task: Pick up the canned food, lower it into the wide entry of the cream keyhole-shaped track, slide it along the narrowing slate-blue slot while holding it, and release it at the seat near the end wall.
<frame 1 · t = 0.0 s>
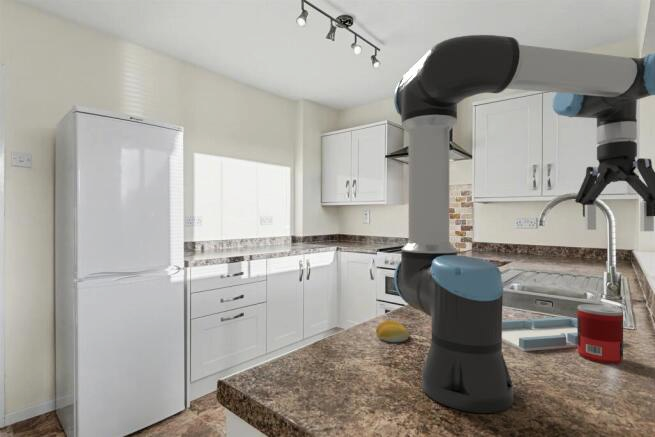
hand: (616, 230, 85), 28 cm above the countertop, tool pointing down, fingers open, 13 cm apart
bread roll: (391, 338, 91), on the countertop
canned food: (599, 358, 77), on the countertop
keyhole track: (548, 336, 91), on the countertop
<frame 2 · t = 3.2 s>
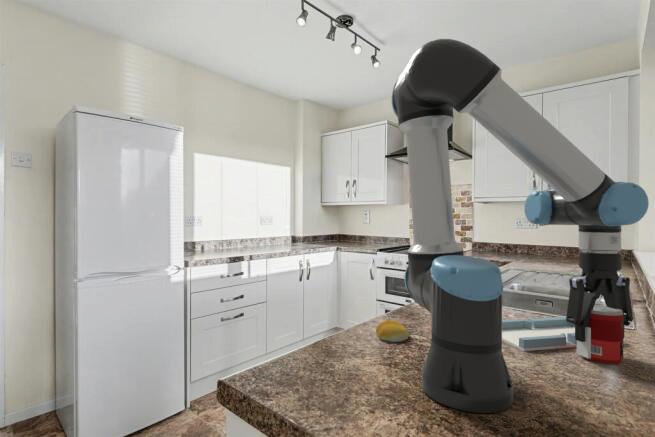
hand: (599, 354, 77), 1 cm above the countertop, tool pointing down, fingers closed on canned food, 8 cm apart
canned food: (599, 358, 77), on the countertop, touching gripper
everything else where it was.
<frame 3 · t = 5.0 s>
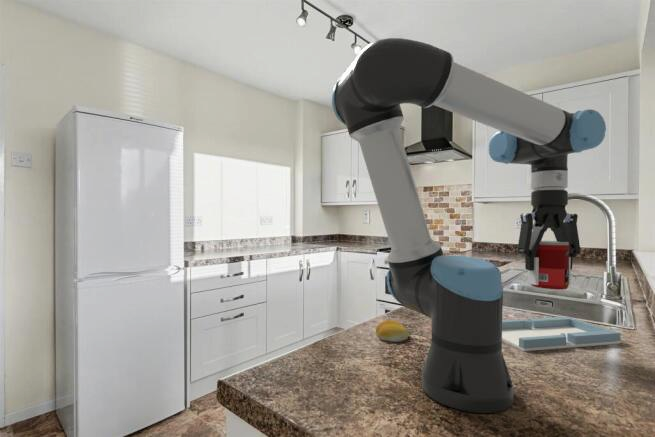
hand: (548, 283, 85), 15 cm above the countertop, tool pointing down, fingers closed on canned food, 8 cm apart
canned food: (549, 287, 85), point 14 cm above the countertop, touching gripper
everything else where it was.
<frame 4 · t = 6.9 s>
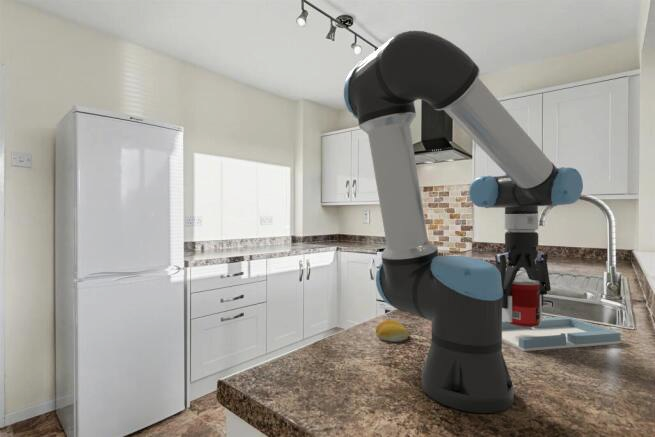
hand: (521, 319, 89), 5 cm above the countertop, tool pointing down, fingers closed on canned food, 8 cm apart
canned food: (521, 323, 90), point 4 cm above the countertop, touching gripper
everything else where it was.
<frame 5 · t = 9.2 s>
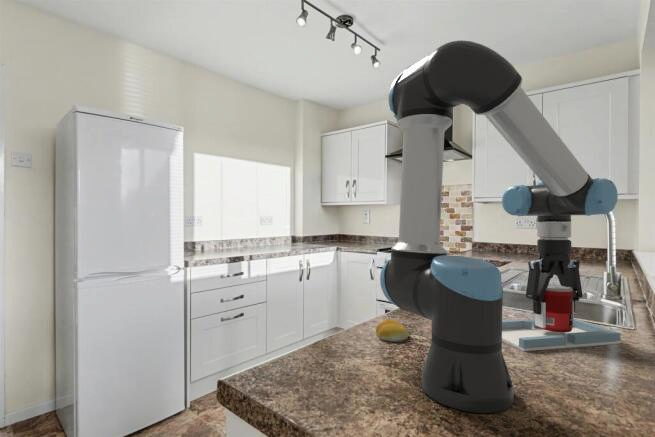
hand: (554, 325, 91), 3 cm above the countertop, tool pointing down, fingers closed on canned food, 8 cm apart
canned food: (554, 329, 91), point 2 cm above the countertop, touching gripper
everything else where it was.
when the fingers open (3 cm above the countertop, at t = 10.9 s): canned food drops 1 cm, resting on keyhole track.
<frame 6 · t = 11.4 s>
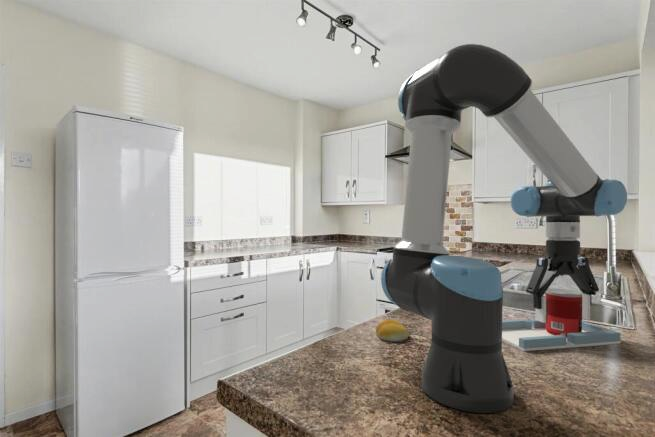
hand: (562, 319, 92), 4 cm above the countertop, tool pointing down, fingers open, 13 cm apart
canned food: (563, 334, 92), resting on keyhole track
everything else where it was.
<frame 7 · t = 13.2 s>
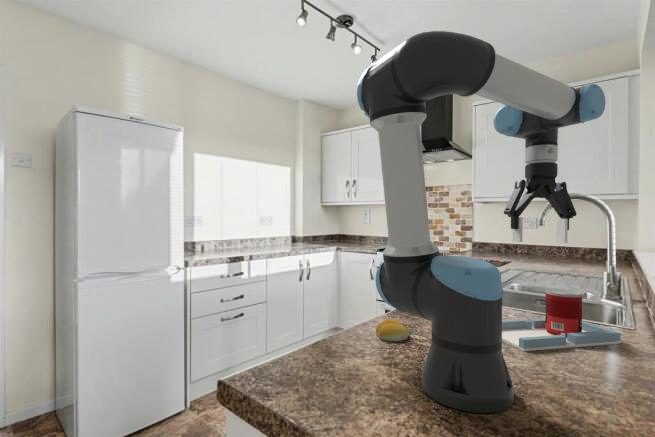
hand: (539, 242, 94), 25 cm above the countertop, tool pointing down, fingers open, 13 cm apart
nothing on the countertop moved.
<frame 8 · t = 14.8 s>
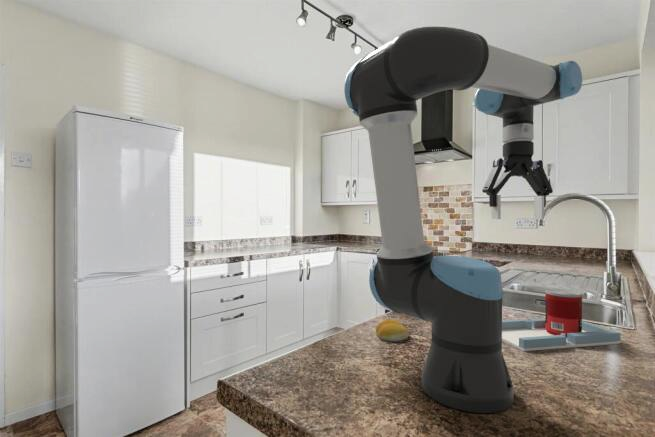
hand: (517, 219, 96), 31 cm above the countertop, tool pointing down, fingers open, 13 cm apart
nothing on the countertop moved.
at the end: canned food inside the target area on the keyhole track (1.4 cm from its centre), point 0.4 cm above the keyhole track's base; canned food tilted 0°; the gripper is holding nothing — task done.
